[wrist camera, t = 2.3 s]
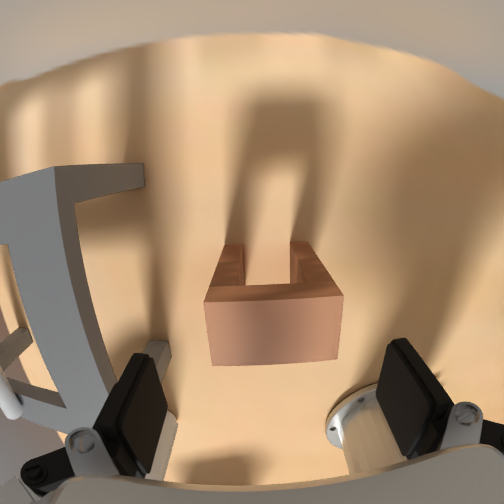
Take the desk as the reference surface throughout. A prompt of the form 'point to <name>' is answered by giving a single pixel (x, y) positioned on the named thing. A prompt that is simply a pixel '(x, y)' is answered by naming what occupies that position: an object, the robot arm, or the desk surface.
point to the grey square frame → (60, 294)
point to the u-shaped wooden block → (273, 313)
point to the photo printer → (163, 448)
